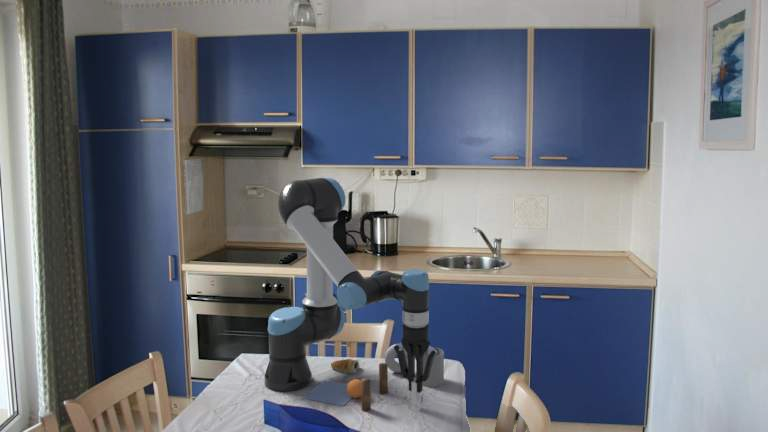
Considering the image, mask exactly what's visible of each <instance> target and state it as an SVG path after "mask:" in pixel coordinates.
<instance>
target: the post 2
mask: <svg viewBox="0 0 768 432" xmlns="http://www.w3.org/2000/svg"><path fill="white" fill-rule="evenodd" d="M378 366H379V367H378V368H379V369H378V387H379V389H378V390H379V391H378V392H379V394H380V395H387V394H388V390H389V387H388V386H389V384H388V380H389V379H388V377H389V376H388V375H389V374H388V369H389V368H388V364H386V363H385V362H382V363H379V364H378Z"/></svg>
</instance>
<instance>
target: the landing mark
mask: <svg viewBox="0 0 768 432" xmlns="http://www.w3.org/2000/svg"><path fill="white" fill-rule="evenodd" d="M347 385H348V383H341V382H336V381H335V382H334V381H329V380H324V381H323V382H321V383H320V384H318V385H317V386H315V387H314V388H313V389H312V390H309V392H307V394H305V395H304V396H303V397H302V399H305V400H311V401H316V402H320V403H326V404H330V405H331V404H332V405H336V406H340V407H341V406H342V407H345V405H347V404H348V403H349V402H350V401H352V400H353V398H352V397H351V396H349V394H348V393H347Z"/></svg>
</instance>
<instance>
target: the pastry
mask: <svg viewBox="0 0 768 432" xmlns="http://www.w3.org/2000/svg"><path fill="white" fill-rule="evenodd" d="M330 367H331V368H332V370H333V369H334V371H336V370H337V372H338V373H343V372H346V373H345V374H350V373H352V374H355V373H356V372H357V371H358V370H359V369H360V362H359V360H357V359H356V360H355V359H351V358H346V359H344V358H343V359H339V360H335V361H333V362H331V364H330Z"/></svg>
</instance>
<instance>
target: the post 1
mask: <svg viewBox="0 0 768 432" xmlns="http://www.w3.org/2000/svg"><path fill="white" fill-rule="evenodd" d="M360 381H361V394H362V396H361V411H363V412H369V411H371V408H372V406H371V379H370V378H368V377H363V378H361V379H360Z"/></svg>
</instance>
